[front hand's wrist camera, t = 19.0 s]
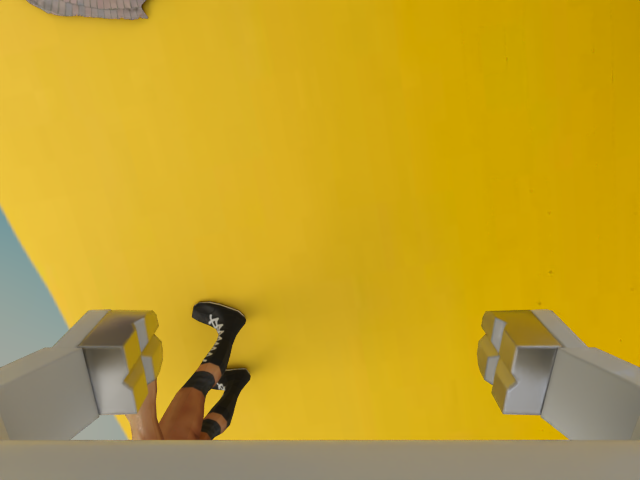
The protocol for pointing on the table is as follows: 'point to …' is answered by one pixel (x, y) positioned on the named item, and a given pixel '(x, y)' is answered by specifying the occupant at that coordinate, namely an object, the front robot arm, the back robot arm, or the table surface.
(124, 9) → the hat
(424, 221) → the table surface
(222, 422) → the figurine
